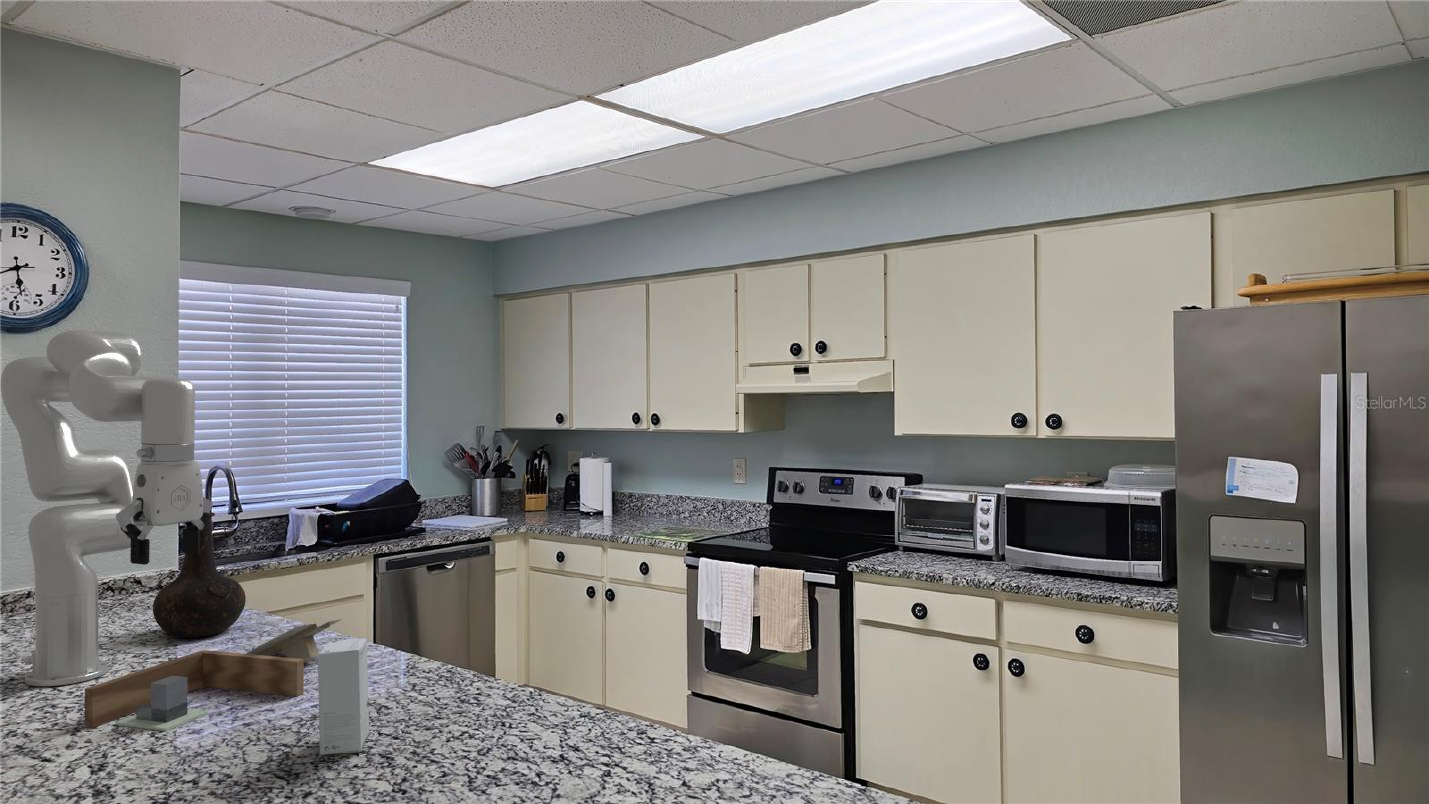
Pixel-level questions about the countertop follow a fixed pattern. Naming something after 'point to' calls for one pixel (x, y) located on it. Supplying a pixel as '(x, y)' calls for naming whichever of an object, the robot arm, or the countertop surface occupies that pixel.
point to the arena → (195, 681)
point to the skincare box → (343, 696)
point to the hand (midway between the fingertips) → (166, 558)
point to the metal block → (165, 700)
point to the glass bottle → (199, 595)
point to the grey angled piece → (294, 643)
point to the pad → (161, 725)
